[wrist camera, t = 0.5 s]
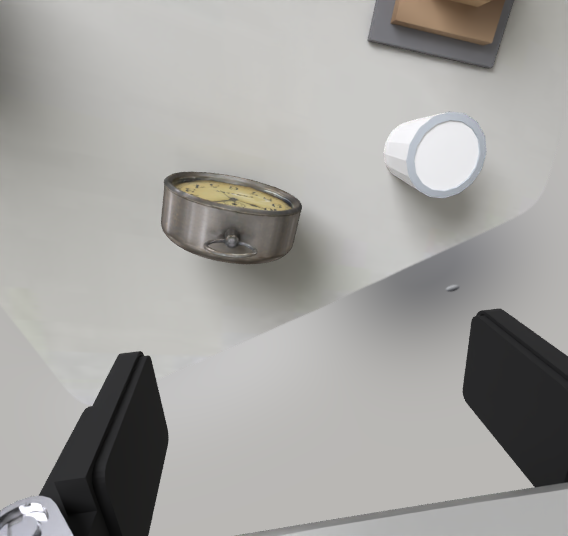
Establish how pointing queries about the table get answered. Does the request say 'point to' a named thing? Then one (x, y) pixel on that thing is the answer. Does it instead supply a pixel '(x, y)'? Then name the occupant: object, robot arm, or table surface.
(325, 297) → the table surface
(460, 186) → the white round container
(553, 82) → the table surface
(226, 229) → the alarm clock
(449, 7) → the lid
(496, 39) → the mat
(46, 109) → the table surface
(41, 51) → the table surface
